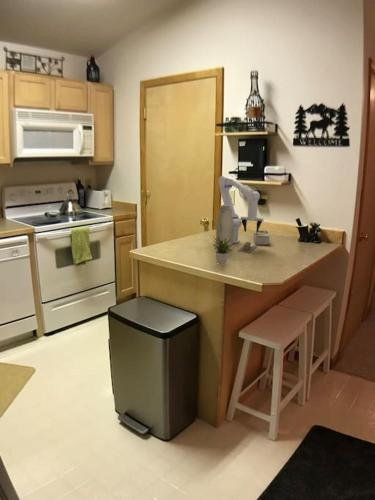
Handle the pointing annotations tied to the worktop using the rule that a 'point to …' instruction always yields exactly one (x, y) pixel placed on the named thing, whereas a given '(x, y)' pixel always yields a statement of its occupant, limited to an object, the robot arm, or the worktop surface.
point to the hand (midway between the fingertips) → (251, 231)
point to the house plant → (221, 250)
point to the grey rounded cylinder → (225, 225)
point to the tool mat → (248, 250)
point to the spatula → (248, 246)
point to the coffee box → (261, 238)
